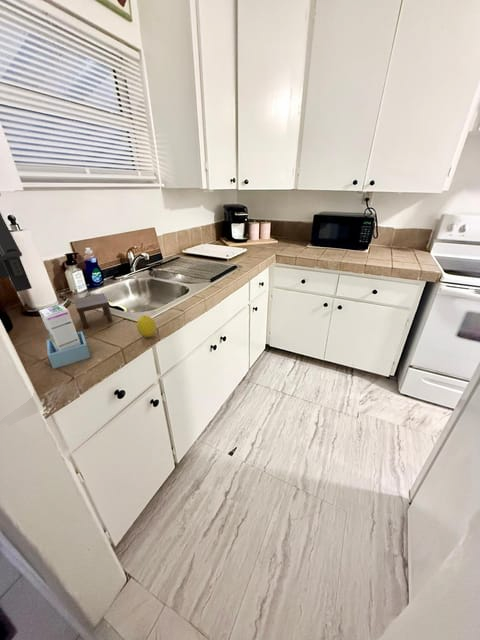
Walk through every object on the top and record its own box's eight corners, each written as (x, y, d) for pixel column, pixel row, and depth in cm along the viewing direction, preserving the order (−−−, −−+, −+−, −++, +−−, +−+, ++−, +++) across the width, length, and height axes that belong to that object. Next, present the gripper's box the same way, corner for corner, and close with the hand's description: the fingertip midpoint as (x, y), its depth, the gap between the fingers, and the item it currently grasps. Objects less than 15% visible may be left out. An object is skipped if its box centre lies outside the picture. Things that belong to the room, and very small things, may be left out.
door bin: (51, 352, 78) (46, 340, 76) (86, 343, 82) (82, 331, 80) (53, 368, 71) (47, 355, 69) (90, 357, 76) (86, 344, 74)
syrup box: (84, 353, 77) (69, 308, 70) (62, 362, 73) (44, 316, 66) (77, 346, 80) (62, 303, 73) (55, 354, 76) (37, 309, 69)
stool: (79, 318, 97) (73, 299, 94) (108, 311, 102) (103, 293, 99) (83, 329, 90) (76, 308, 86) (113, 321, 95) (108, 301, 91)
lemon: (160, 334, 87) (156, 313, 83) (149, 343, 82) (144, 321, 79) (147, 331, 89) (143, 310, 85) (135, 339, 84) (130, 317, 81)
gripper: (12, 173, 44) (54, 290, 54) (-23, 175, 58) (15, 269, 67) (-49, 172, 39) (10, 302, 49) (-73, 175, 52) (-23, 276, 62)
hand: (13, 283), depth 58 cm, fingers open, 13 cm apart
